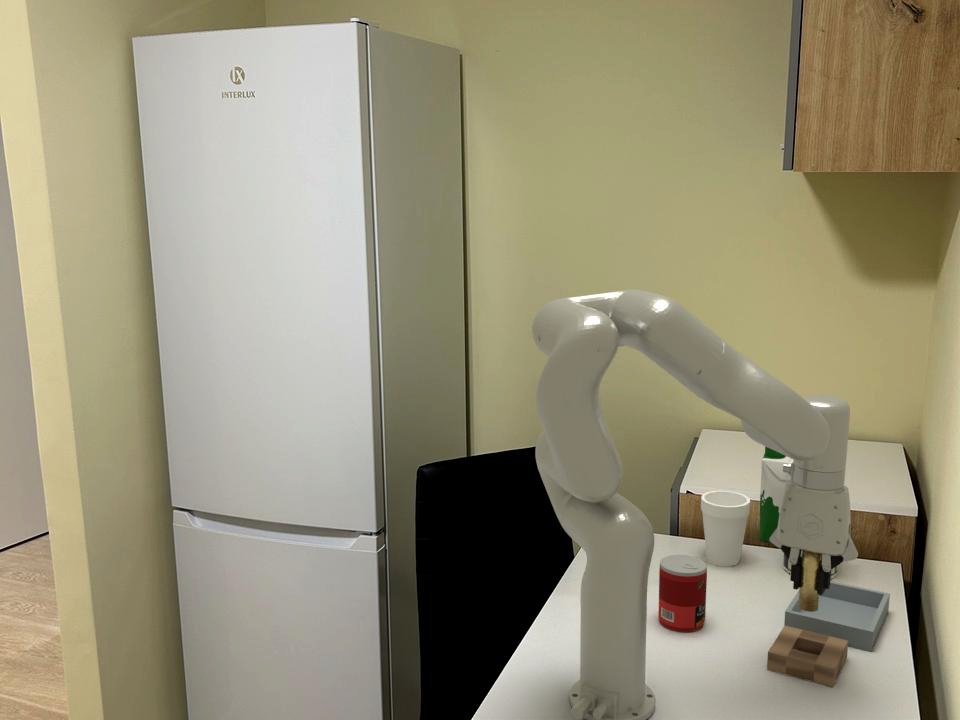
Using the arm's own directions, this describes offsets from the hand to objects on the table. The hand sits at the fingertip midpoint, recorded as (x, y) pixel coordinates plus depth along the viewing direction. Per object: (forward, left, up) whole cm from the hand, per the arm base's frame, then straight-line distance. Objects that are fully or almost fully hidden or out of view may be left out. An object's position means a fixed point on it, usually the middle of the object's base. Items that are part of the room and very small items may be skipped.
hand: (809, 588), depth 146 cm
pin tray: (+17, -1, -13) cm, 22 cm away
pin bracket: (0, 0, -13) cm, 13 cm away
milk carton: (+49, +17, -13) cm, 54 cm away
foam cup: (+32, +24, -13) cm, 42 cm away
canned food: (+3, +22, -13) cm, 26 cm away
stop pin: (0, 0, -3) cm, 3 cm away
